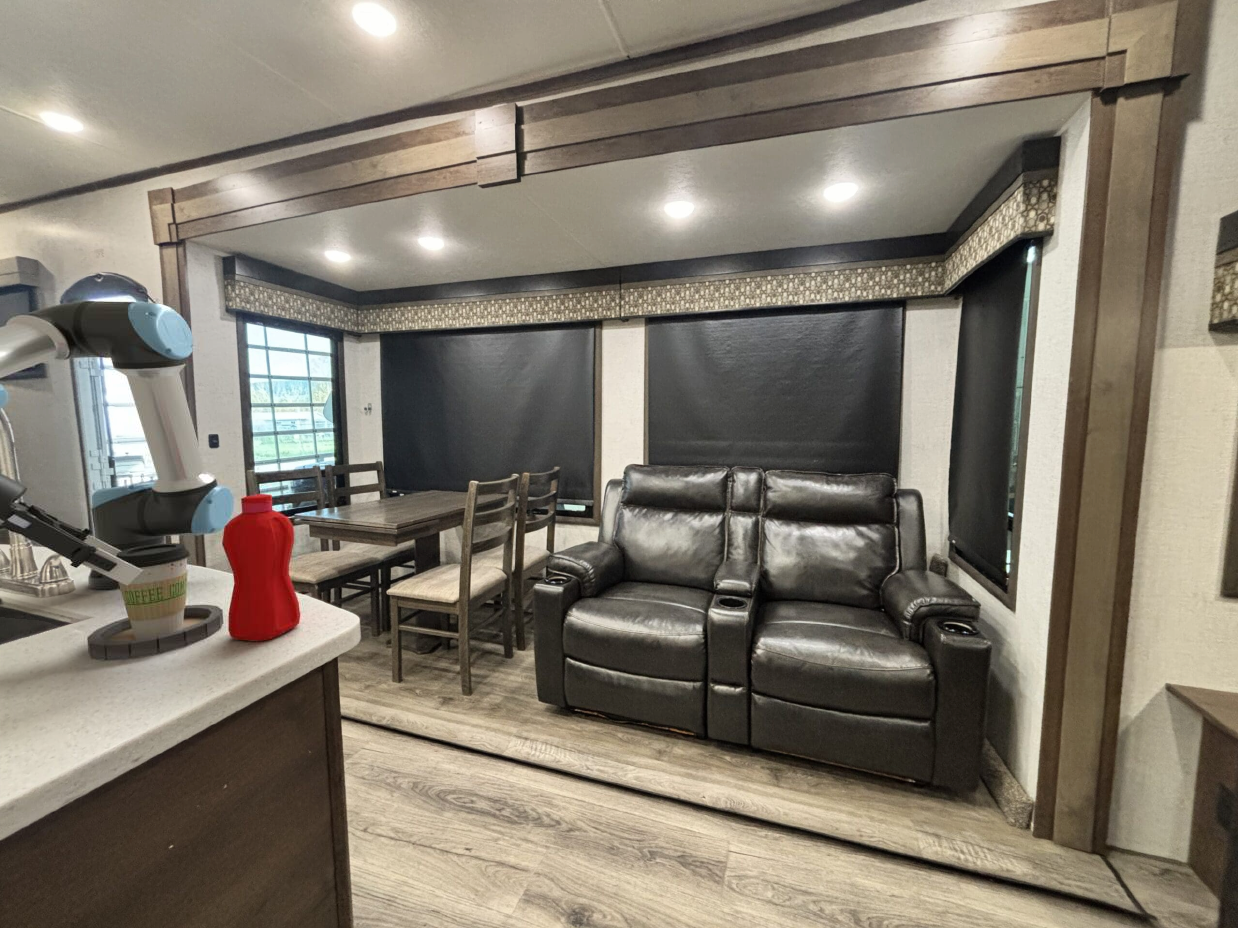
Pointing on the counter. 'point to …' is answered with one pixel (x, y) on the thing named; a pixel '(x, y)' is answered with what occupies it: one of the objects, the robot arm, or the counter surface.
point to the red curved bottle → (260, 571)
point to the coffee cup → (156, 589)
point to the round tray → (122, 644)
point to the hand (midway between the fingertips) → (129, 569)
